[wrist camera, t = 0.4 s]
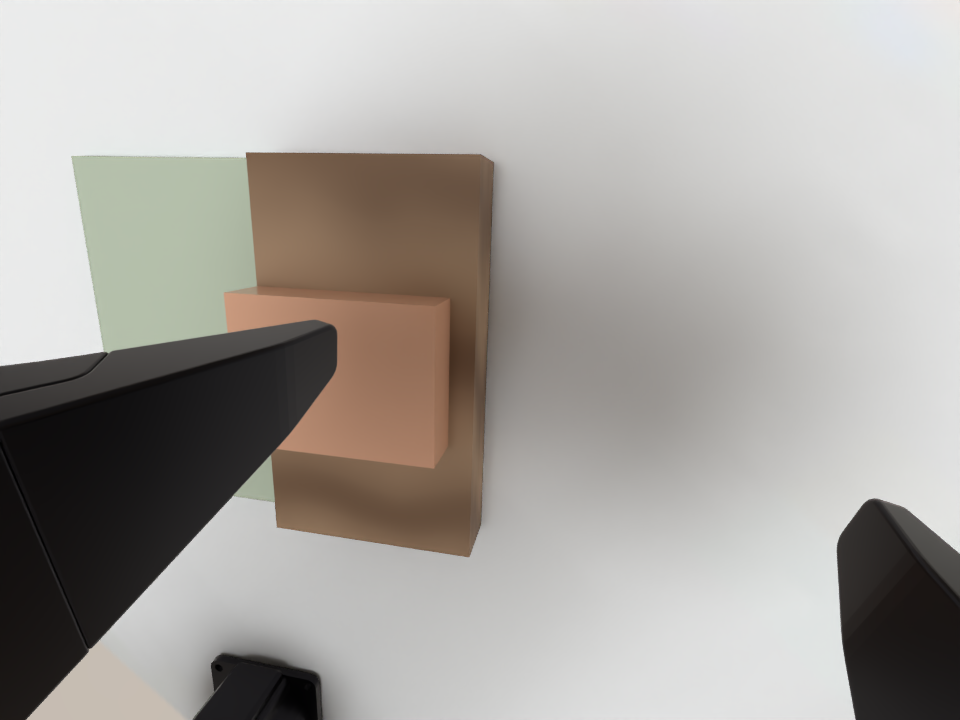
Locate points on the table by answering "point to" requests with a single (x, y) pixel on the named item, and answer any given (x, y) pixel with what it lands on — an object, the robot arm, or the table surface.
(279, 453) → the walnut stand
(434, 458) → the terracotta tile
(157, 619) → the table surface
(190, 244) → the green mat
